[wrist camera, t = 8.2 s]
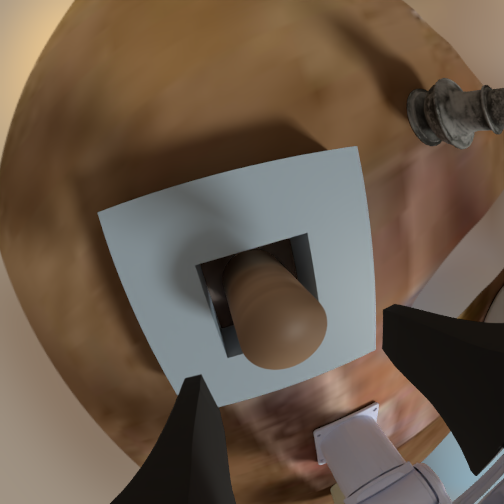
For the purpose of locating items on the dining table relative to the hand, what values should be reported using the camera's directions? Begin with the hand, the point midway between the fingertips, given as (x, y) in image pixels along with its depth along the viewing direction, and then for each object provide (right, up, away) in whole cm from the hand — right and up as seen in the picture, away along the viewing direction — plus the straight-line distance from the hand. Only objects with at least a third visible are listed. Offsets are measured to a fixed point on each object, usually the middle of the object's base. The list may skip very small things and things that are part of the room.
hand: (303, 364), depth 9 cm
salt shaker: (+13, +16, +8) cm, 22 cm away
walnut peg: (-2, +2, +9) cm, 9 cm away
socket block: (-2, +2, +9) cm, 9 cm away
